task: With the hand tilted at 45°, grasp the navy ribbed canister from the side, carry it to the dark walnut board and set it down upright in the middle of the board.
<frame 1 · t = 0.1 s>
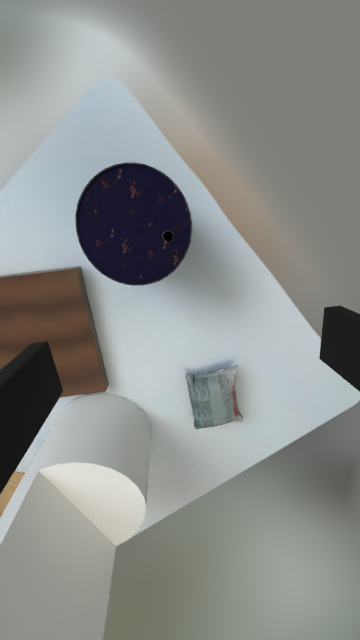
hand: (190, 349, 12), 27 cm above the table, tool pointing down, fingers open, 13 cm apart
packaged food: (214, 389, 45), on the table
cylinder: (103, 431, 47), on the table
navy ribbed canister: (145, 229, 35), on the table
board: (44, 336, 39), on the table
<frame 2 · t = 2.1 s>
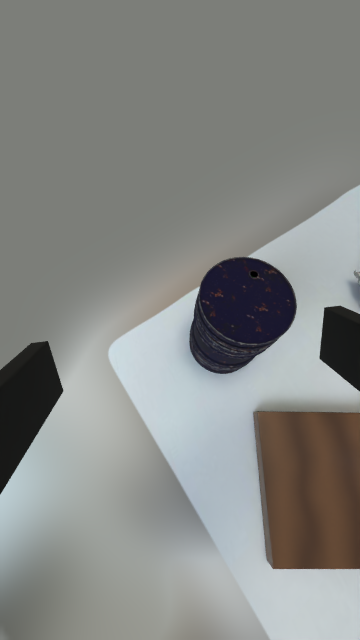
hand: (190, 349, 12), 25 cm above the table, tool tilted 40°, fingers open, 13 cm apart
navy ribbed canister: (220, 342, 39), on the table
board: (336, 479, 32), on the table
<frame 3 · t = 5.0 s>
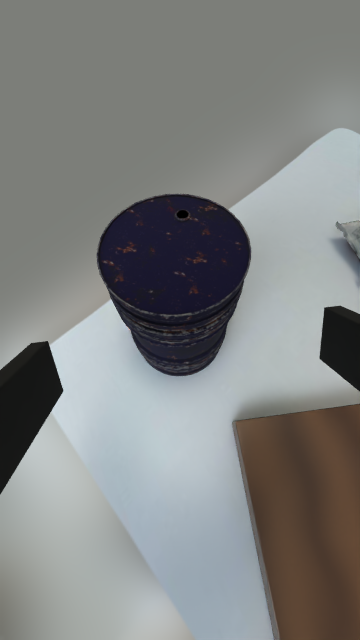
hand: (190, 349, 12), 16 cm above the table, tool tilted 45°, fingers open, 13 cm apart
navy ribbed canister: (179, 335, 30), on the table
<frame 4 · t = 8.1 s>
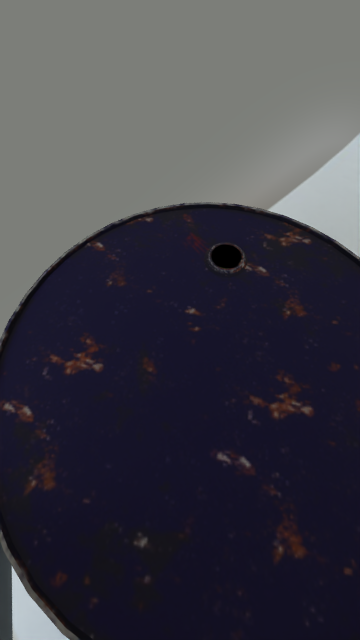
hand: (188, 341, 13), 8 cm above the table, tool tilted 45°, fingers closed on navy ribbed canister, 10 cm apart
navy ribbed canister: (193, 415, 19), on the table, touching gripper
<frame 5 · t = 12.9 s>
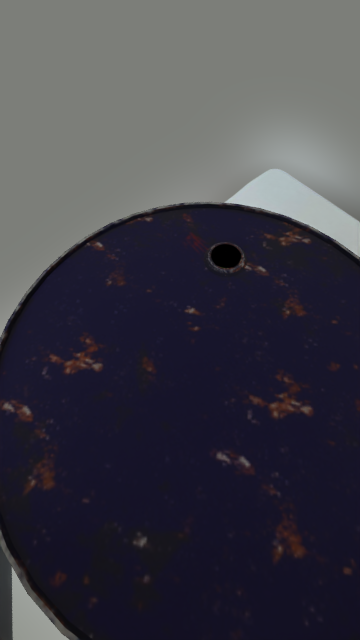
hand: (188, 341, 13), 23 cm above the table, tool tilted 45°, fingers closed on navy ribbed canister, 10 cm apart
navy ribbed canister: (193, 415, 19), point 15 cm above the table, touching gripper
when the fingers open (10 cm above the table, at t = 17.9 s): navy ribbed canister stays where it is, resting on board.
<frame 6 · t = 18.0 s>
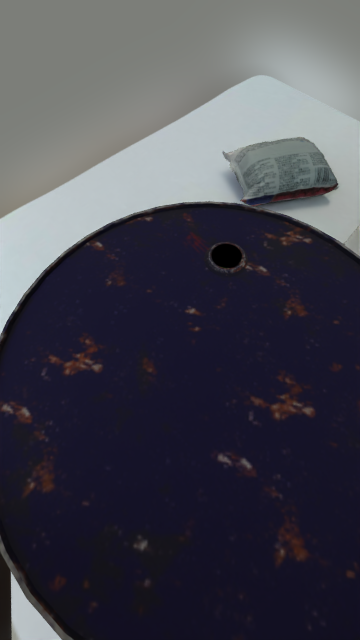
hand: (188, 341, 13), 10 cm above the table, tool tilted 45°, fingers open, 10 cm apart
packaged food: (272, 187, 32), on the table
navy ribbed canister: (193, 415, 19), point 2 cm above the table, touching board
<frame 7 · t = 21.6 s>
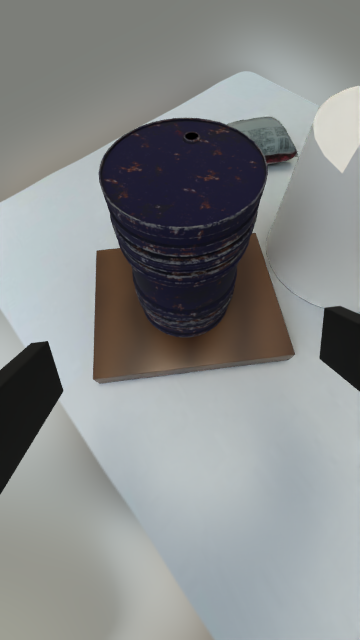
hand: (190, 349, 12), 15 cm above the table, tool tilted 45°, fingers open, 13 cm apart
packaged food: (249, 157, 41), on the table
cylinder: (333, 254, 33), on the table
navy ribbed canister: (184, 297, 28), point 2 cm above the table, touching board
board: (185, 305, 30), on the table
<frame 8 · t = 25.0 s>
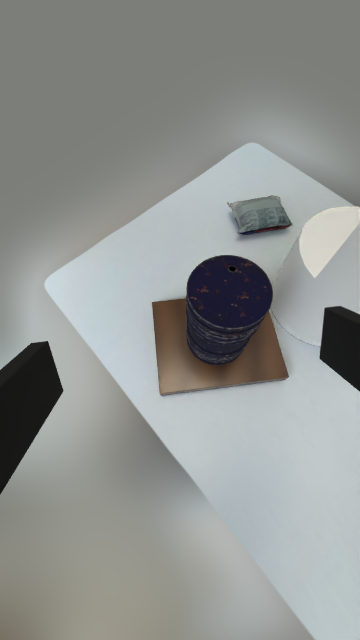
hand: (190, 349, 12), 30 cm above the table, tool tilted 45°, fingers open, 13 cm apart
packaged food: (256, 222, 55), on the table
cylinder: (316, 302, 47), on the table
navy ribbed canister: (215, 337, 42), point 2 cm above the table, touching board
board: (214, 341, 44), on the table
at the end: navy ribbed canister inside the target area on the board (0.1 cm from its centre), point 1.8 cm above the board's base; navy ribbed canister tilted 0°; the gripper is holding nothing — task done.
